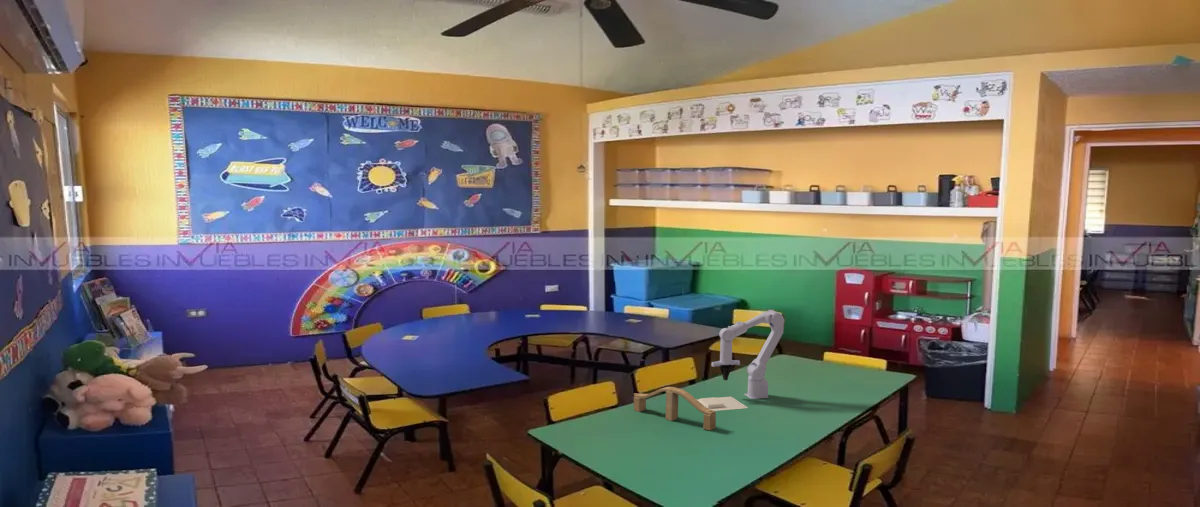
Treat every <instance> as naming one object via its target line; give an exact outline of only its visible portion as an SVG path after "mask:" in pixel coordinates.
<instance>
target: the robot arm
mask: <svg viewBox="0 0 1200 507" xmlns="http://www.w3.org/2000/svg"><path fill="white" fill-rule="evenodd" d="M761 324H768V325H769V328H770V329H771V331H770V333H769V335H768V336H767V339H766V340H765V342H764V344H763V346H762V347H761V350H760V352H759V353H758V355H757V356H756V358H754V359H753V360H752V362H751V363H749V365H748V366H747V368H746V372H747V374H748V377H747V392H746V393H743V395H744V396H746V397H748V398H749V399H751V400H756V399H769V382H768V380H767V379H766V378H765V375H766V371H767V363H768V361H769V360H770V358H771V356H772V354H773V353H774V350H775V349H776V347H777V346H778V343H779V342H780V340H781V338H782V336H783V335H784V327H785V318H784V316H783V315H782V314H781V313H780V312H778V311H775V310H774V309H768V310H767V311H763V312H762V313H760V314H758V315H756V316H754V317H752V318H750V319H749V320H746V321H745V322H743V321H736V323H735V324H733V325H731V326H730V325H728V326H727V327H724V328H721V329H720V331H719V333H718V336H719V338H720V343H719V344H720V345H719V346H720V349H719V360H717V361H716V360H715V361H711V367H713V368H715V367H718V368H719V370H720V373H721V375H722V379H723V381H728V379H729V375H730V373H731V372H732V370H733V366H734V365H737V366H740V365H741V361H740V360H739V359H737V360H736V359H735V360H734V359H733V340H734V339H735V338H737V337H738V336H741V335H742V334H744V333H747V331H748V329H750V328H752V327H755V326H757V325H761Z"/></svg>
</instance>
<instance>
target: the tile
mask: <svg viewBox="0 0 1200 507" xmlns="http://www.w3.org/2000/svg"><path fill="white" fill-rule="evenodd" d="M716 398H717V397H714V396H712V397H703V398H700V397H699V398H698V399H699V402H701V403H702V404H703V405H705V406H706V407H707V408H714V407H724V403H722V402H721V401H719V400H718V399H716Z"/></svg>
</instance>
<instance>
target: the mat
mask: <svg viewBox="0 0 1200 507" xmlns="http://www.w3.org/2000/svg"><path fill="white" fill-rule="evenodd" d="M715 398H716V399H718V400H719V401H721V402H722V403H724V407H714V408H708V409H710V410H714V411H715V412H717V411H730V410H739V409H740V410H743V409H749V407H748V406H747V405H745V404H743V403H741V402H740V401H738V400H737V399H736V398H734V397H732V396H723V397H722V396H721V397H715ZM695 399H696V400H697V401H699V399H700V398H698V399H697V398H695ZM700 403H701V402H700ZM701 404H702V403H701ZM702 405H703V404H702ZM703 406H705V405H703ZM705 407H706V406H705ZM706 408H707V407H706Z"/></svg>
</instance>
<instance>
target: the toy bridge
mask: <svg viewBox="0 0 1200 507" xmlns="http://www.w3.org/2000/svg"><path fill="white" fill-rule="evenodd" d="M662 392H665V420H667V421H670V422H671V421H672V422H673V421H675V420H677V419H678V418H679V396H680V397H682V398H683V399H685V400H686V402H688V403H689V404H690V405H691V406H692V407H694V408H695V409H696V410H697V411H698V412H700V413H702V414H703V426H702V428H703V430H707V431H712V430H714V429H716V427H717V426H716V425H717V422H716V421H717V420H716V419H717V417H716V416H717V413H716V411H714V410H710V409H708V408H706V407H705V406H703V405H702V404H701V403H700V402H699V401H697V400H696V399H697V398H695V397H694V395H692V394H691V393H689V392H688V391H687V390H684V389H682V388H679V387H675V386H666V387H663V388H660V389H657V390H655V391H652V392H650V393H642V392H639V393H633V396H634V397H633V411H635V412H637V413H641V412H643V411H646V410H647V398H650V397H653V396H654V395H655V396H656V395H657V394H659V393H662Z"/></svg>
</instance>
